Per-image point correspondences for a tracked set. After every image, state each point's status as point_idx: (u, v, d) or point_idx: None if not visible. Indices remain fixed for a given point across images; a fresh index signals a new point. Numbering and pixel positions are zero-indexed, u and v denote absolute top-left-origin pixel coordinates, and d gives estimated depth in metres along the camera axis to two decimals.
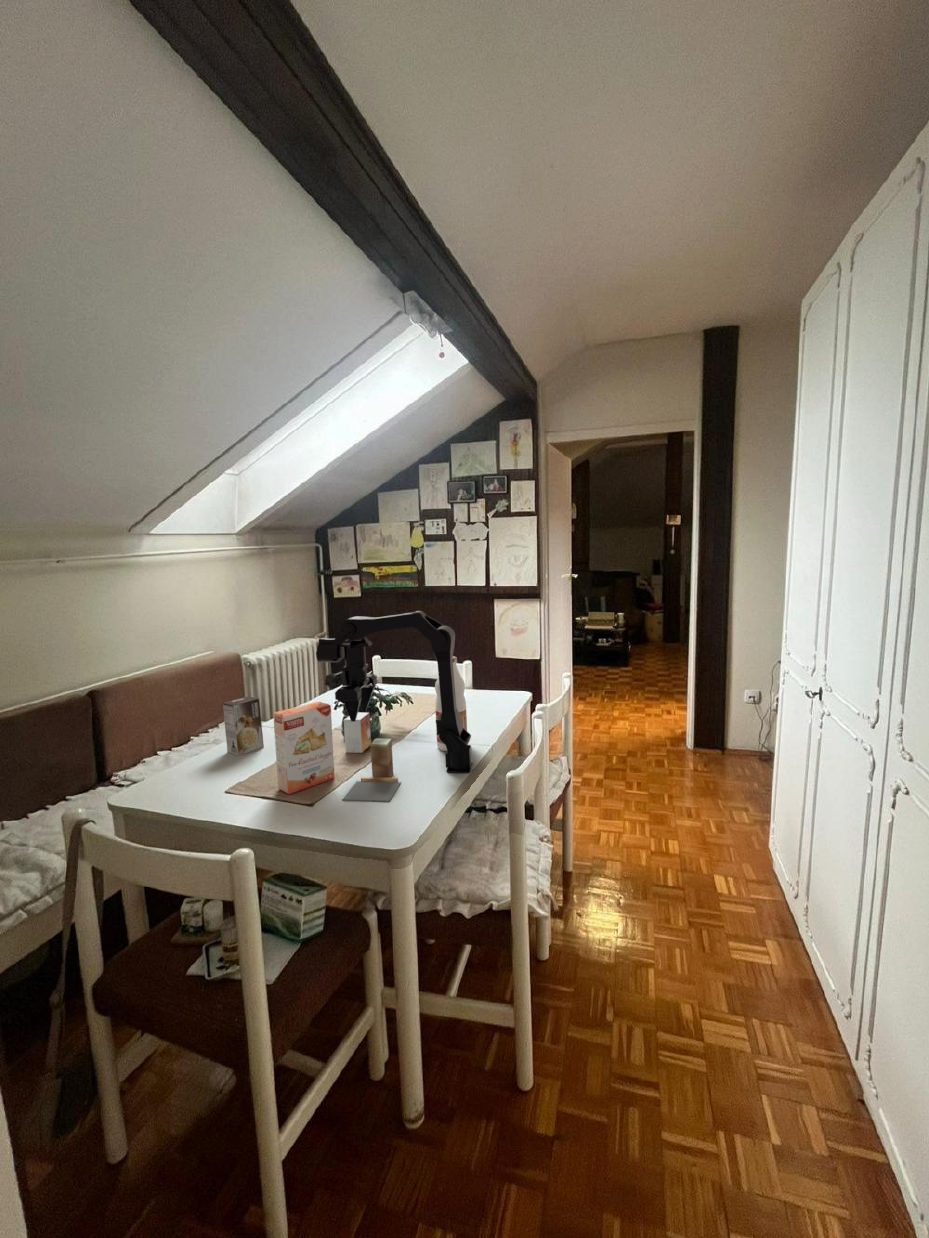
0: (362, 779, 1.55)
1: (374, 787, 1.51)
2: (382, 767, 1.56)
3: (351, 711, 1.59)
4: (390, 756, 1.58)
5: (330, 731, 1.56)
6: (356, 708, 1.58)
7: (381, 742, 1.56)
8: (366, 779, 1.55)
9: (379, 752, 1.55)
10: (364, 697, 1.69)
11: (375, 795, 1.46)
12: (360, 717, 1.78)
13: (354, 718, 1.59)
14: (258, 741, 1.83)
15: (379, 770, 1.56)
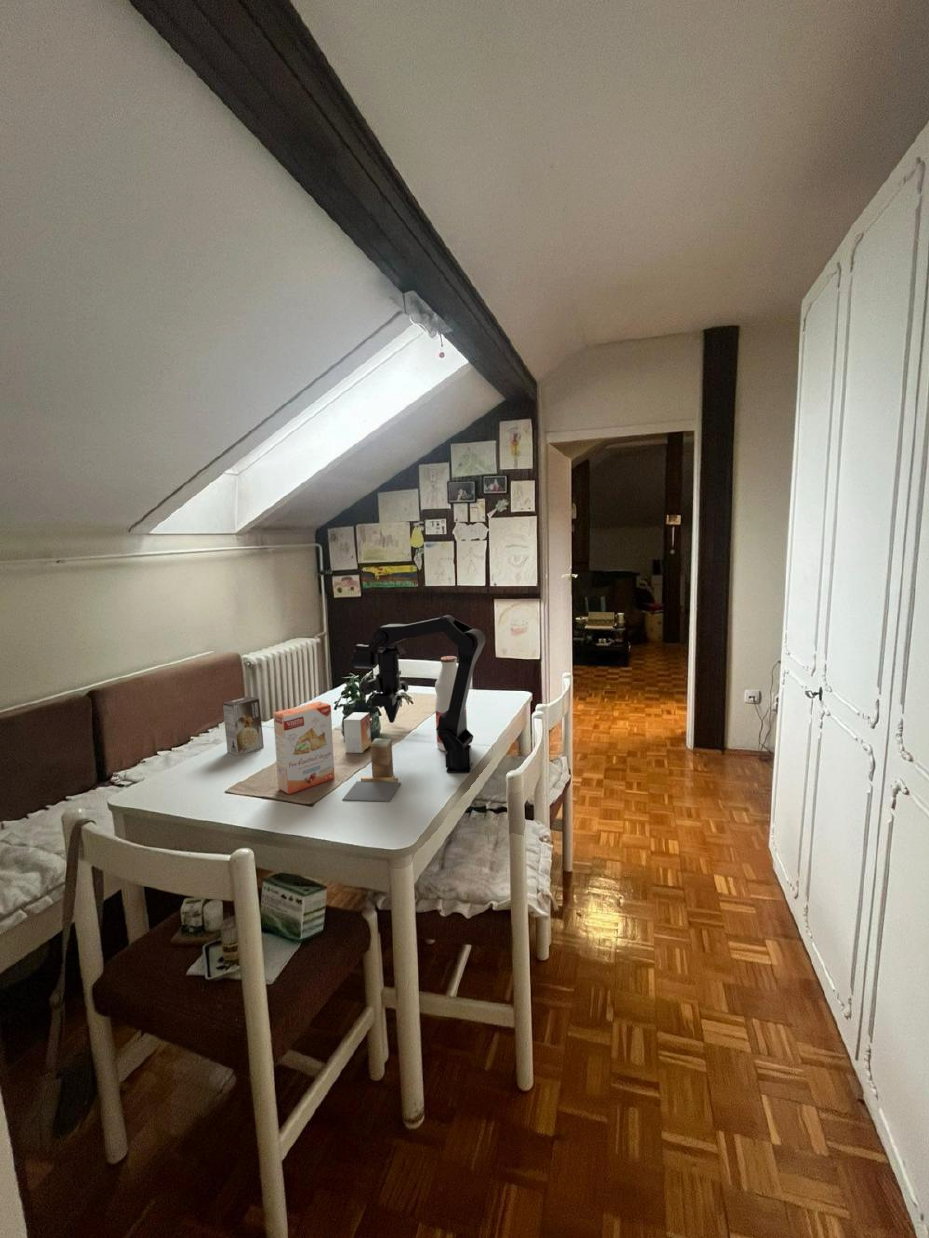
0: (362, 779, 1.55)
1: (374, 787, 1.51)
2: (382, 767, 1.56)
3: (390, 713, 1.66)
4: (390, 756, 1.58)
5: (330, 731, 1.56)
6: (395, 710, 1.65)
7: (381, 742, 1.56)
8: (366, 779, 1.55)
9: (379, 752, 1.55)
10: None
11: (375, 795, 1.46)
12: (360, 717, 1.78)
13: (392, 719, 1.67)
14: (258, 741, 1.83)
15: (379, 770, 1.56)
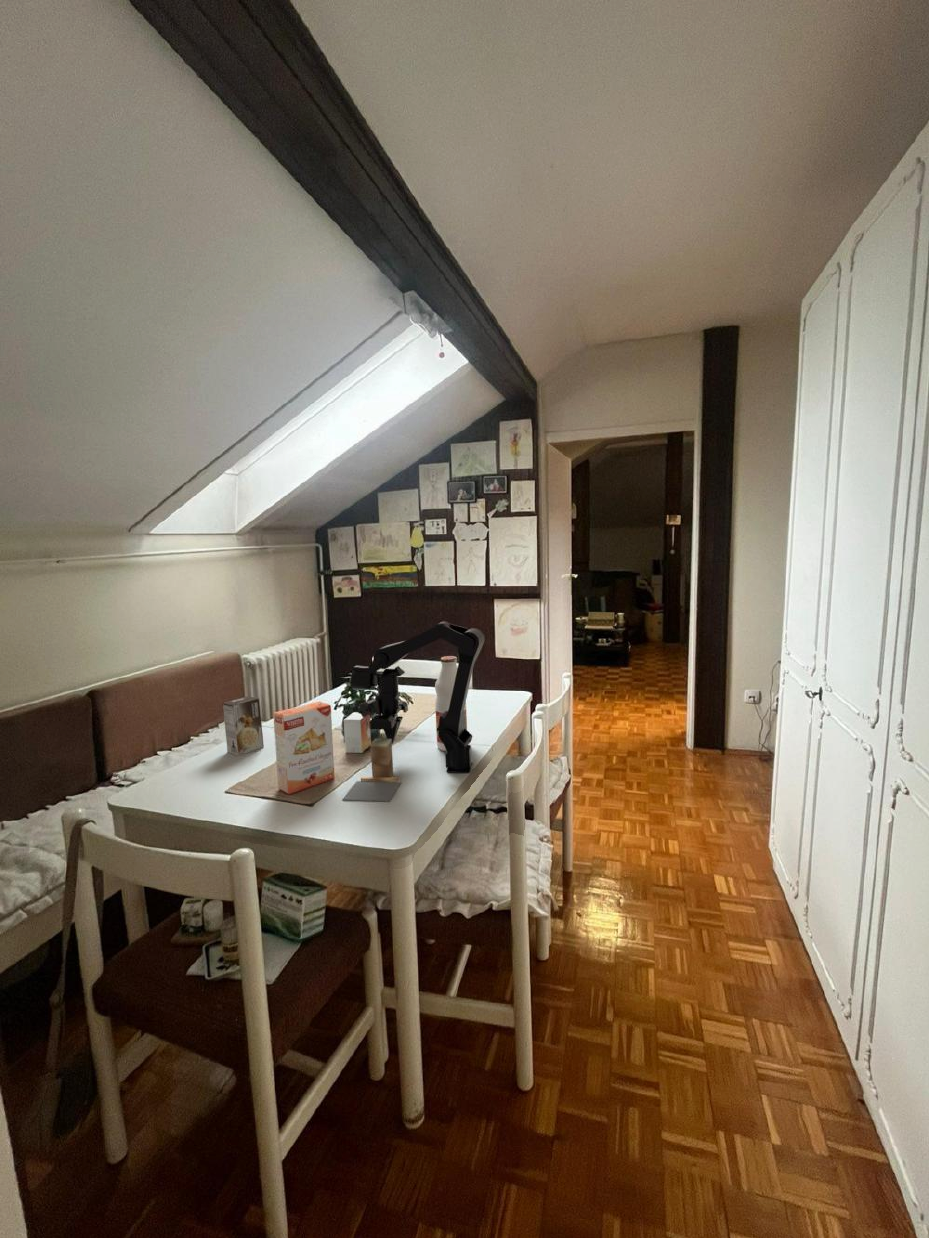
0: (362, 779, 1.55)
1: (374, 787, 1.51)
2: (382, 767, 1.56)
3: (389, 734, 1.65)
4: (390, 756, 1.58)
5: (330, 731, 1.56)
6: (394, 731, 1.64)
7: (381, 742, 1.56)
8: (366, 779, 1.55)
9: (379, 752, 1.55)
10: None
11: (375, 795, 1.46)
12: (360, 717, 1.78)
13: (392, 741, 1.66)
14: (258, 741, 1.83)
15: (379, 770, 1.56)
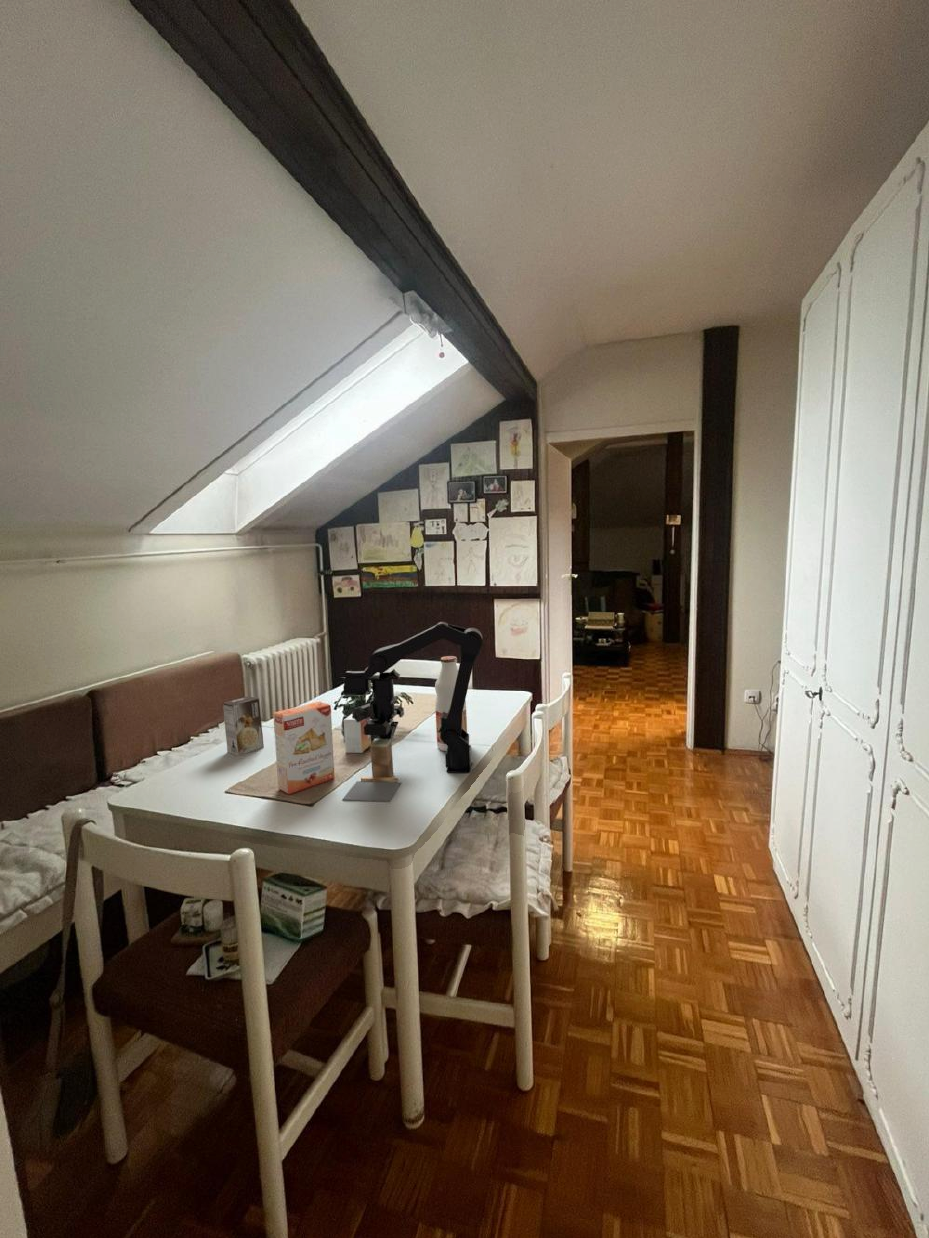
0: (362, 779, 1.55)
1: (374, 787, 1.51)
2: (382, 767, 1.56)
3: None
4: (390, 756, 1.58)
5: (330, 731, 1.56)
6: (389, 737, 1.59)
7: (381, 742, 1.56)
8: (366, 779, 1.55)
9: (379, 752, 1.55)
10: None
11: (375, 795, 1.46)
12: None
13: None
14: (258, 741, 1.83)
15: (379, 770, 1.56)
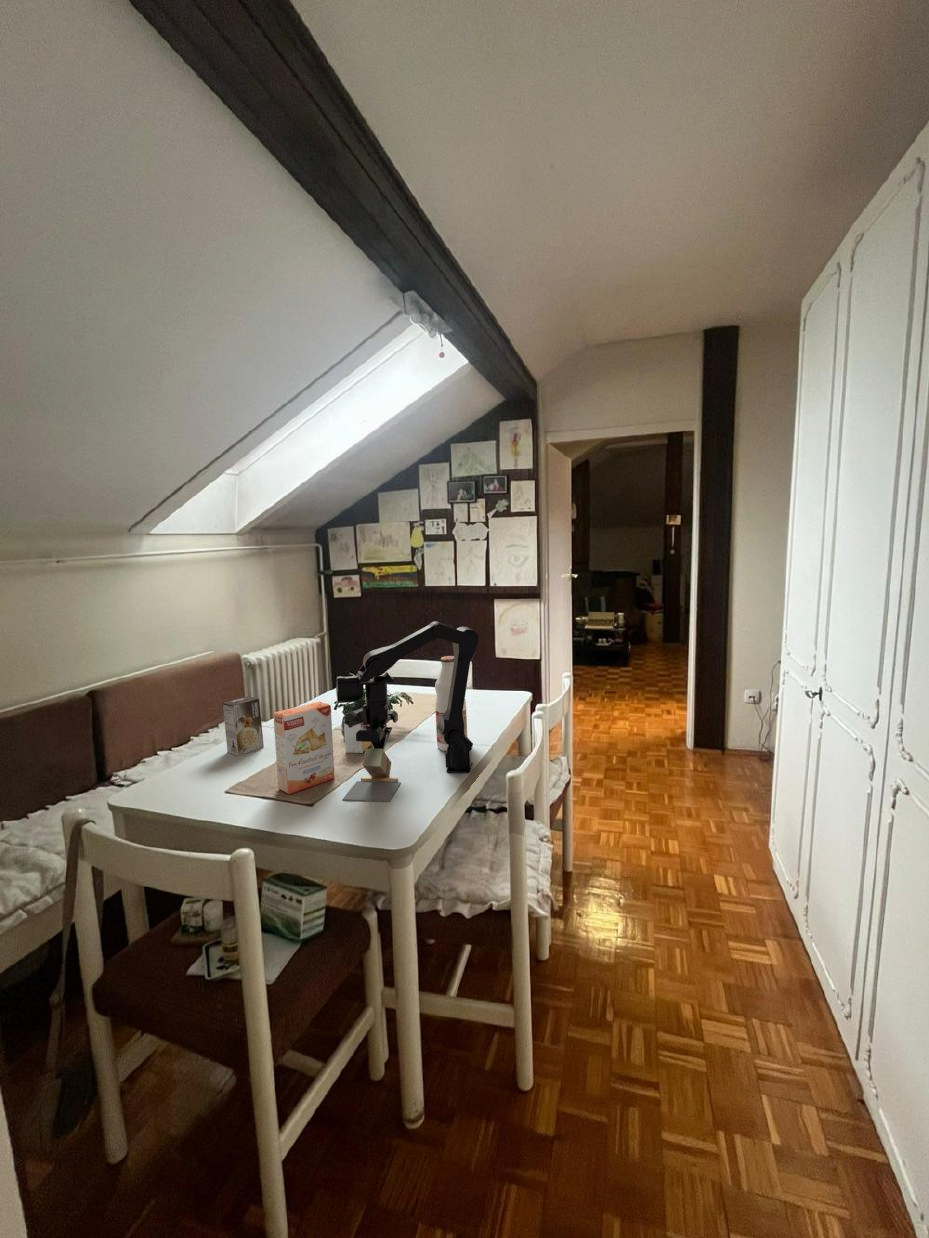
0: (362, 779, 1.55)
1: (374, 787, 1.51)
2: (380, 774, 1.53)
3: (377, 746, 1.54)
4: (385, 761, 1.53)
5: (330, 731, 1.56)
6: (382, 743, 1.53)
7: (373, 760, 1.49)
8: (366, 779, 1.55)
9: (373, 768, 1.50)
10: None
11: (375, 795, 1.46)
12: None
13: None
14: (258, 741, 1.83)
15: (377, 775, 1.54)
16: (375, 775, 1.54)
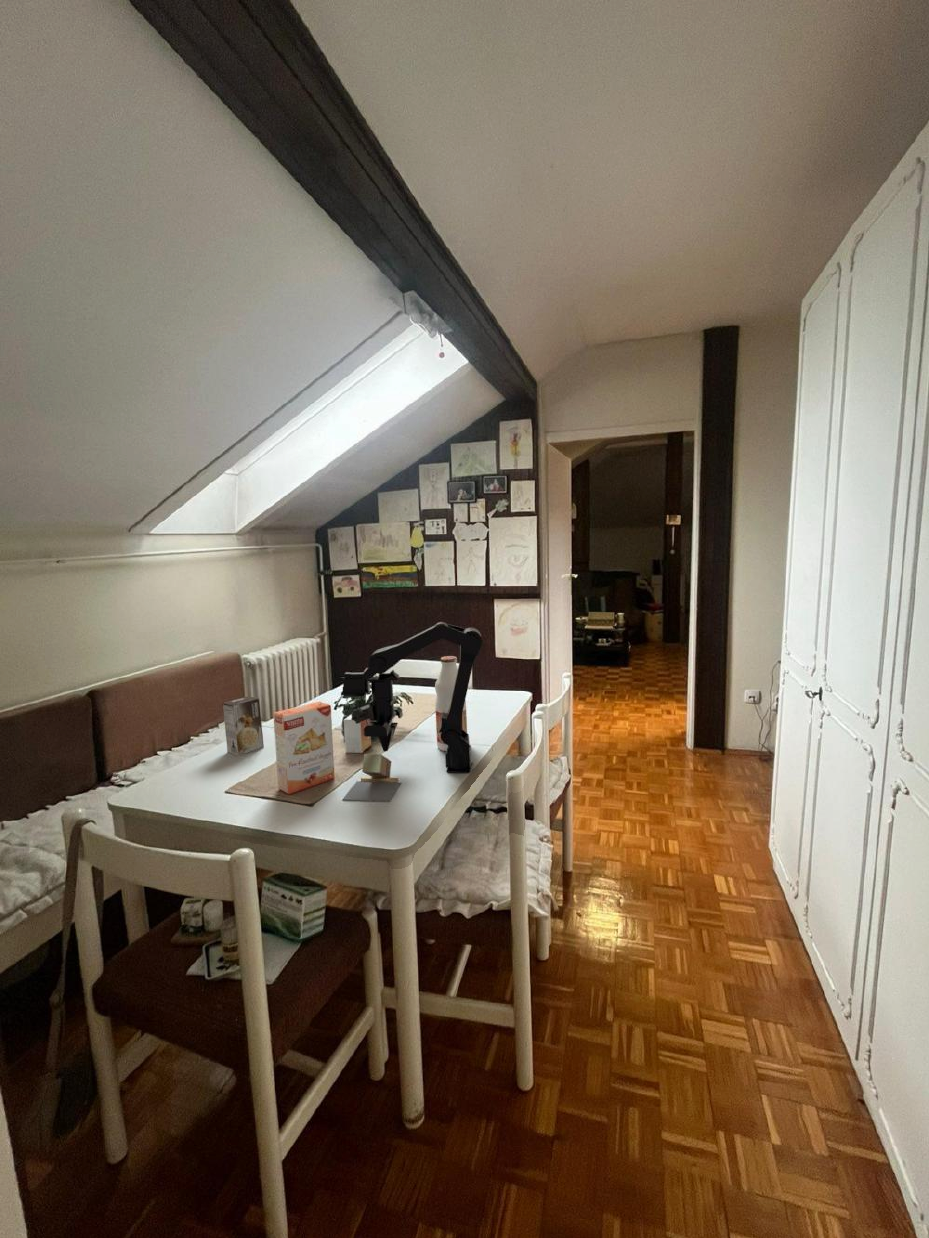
0: (362, 779, 1.55)
1: (374, 787, 1.51)
2: (380, 776, 1.54)
3: (384, 741, 1.59)
4: (385, 764, 1.53)
5: (330, 731, 1.56)
6: (389, 738, 1.59)
7: (372, 766, 1.49)
8: (366, 779, 1.55)
9: (373, 773, 1.50)
10: None
11: (375, 795, 1.46)
12: None
13: (386, 748, 1.60)
14: (258, 741, 1.83)
15: (378, 776, 1.55)
16: (375, 776, 1.55)
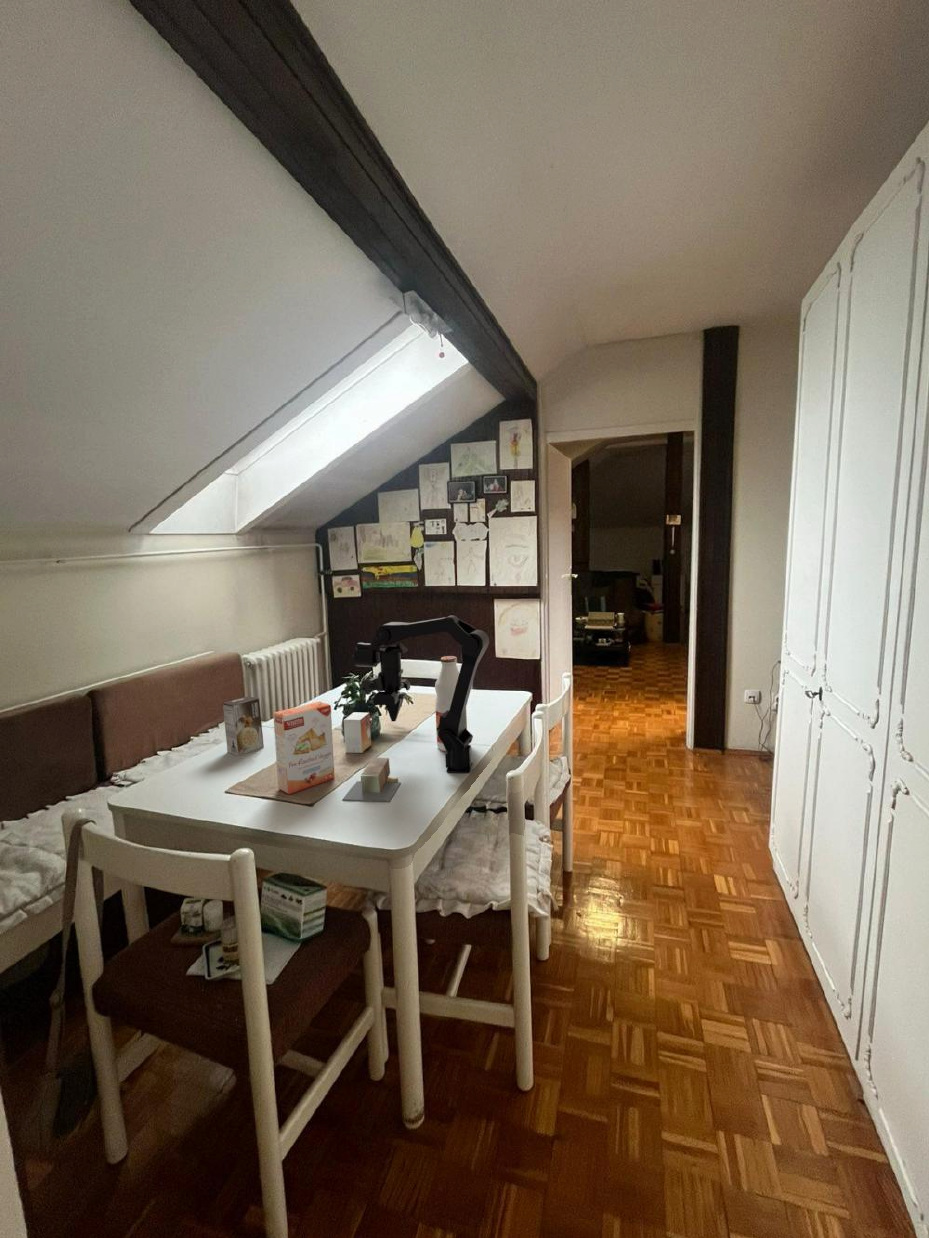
0: None
1: None
2: None
3: (392, 711, 1.65)
4: (383, 774, 1.51)
5: (330, 731, 1.56)
6: (397, 708, 1.64)
7: (371, 787, 1.48)
8: None
9: None
10: None
11: (375, 795, 1.46)
12: (360, 717, 1.78)
13: (394, 718, 1.65)
14: (258, 741, 1.83)
15: None
16: None
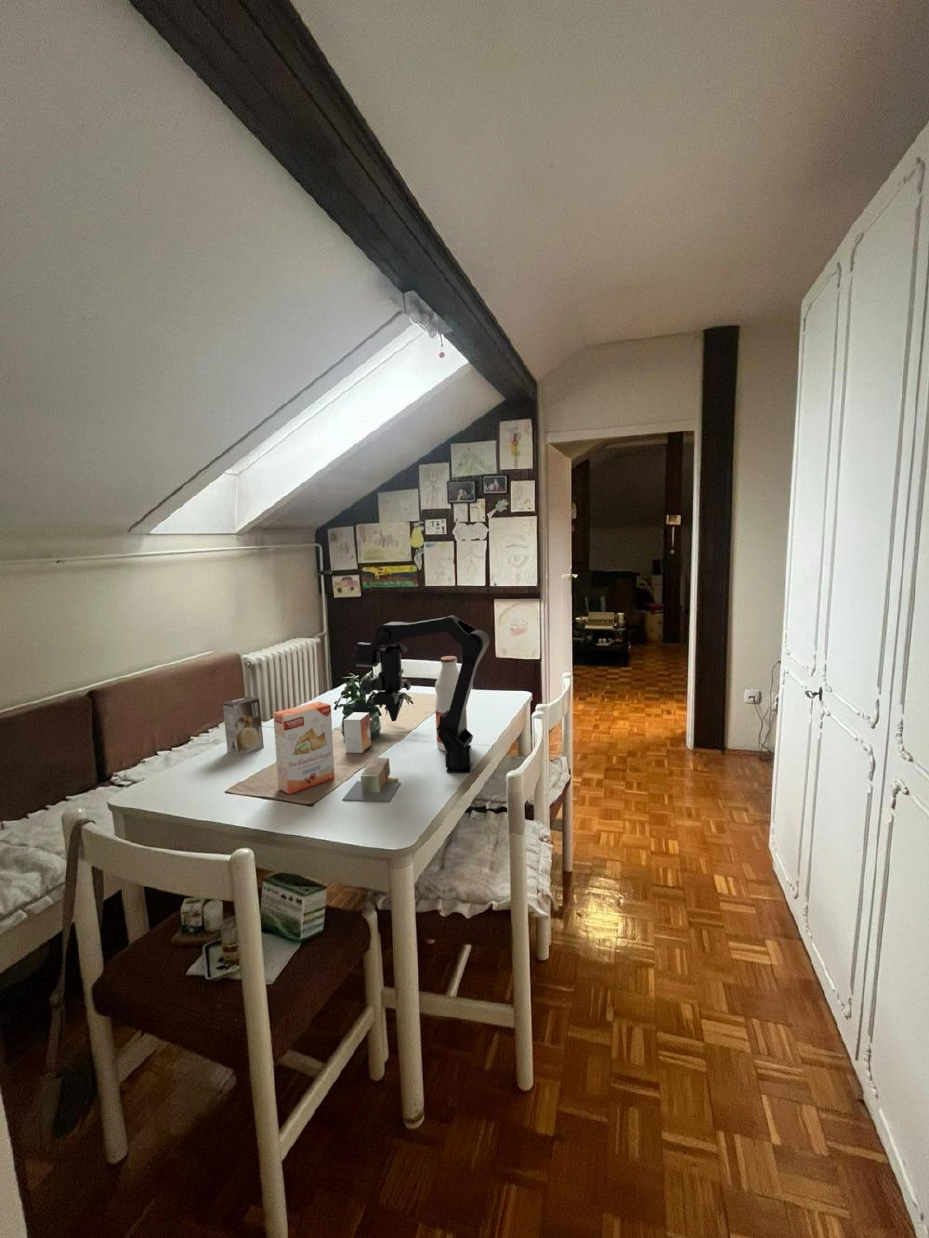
0: None
1: None
2: None
3: (392, 711, 1.65)
4: (383, 774, 1.51)
5: (330, 731, 1.56)
6: (397, 708, 1.64)
7: (371, 787, 1.48)
8: None
9: None
10: None
11: (375, 795, 1.46)
12: (360, 717, 1.78)
13: (395, 718, 1.65)
14: (258, 741, 1.83)
15: None
16: None
